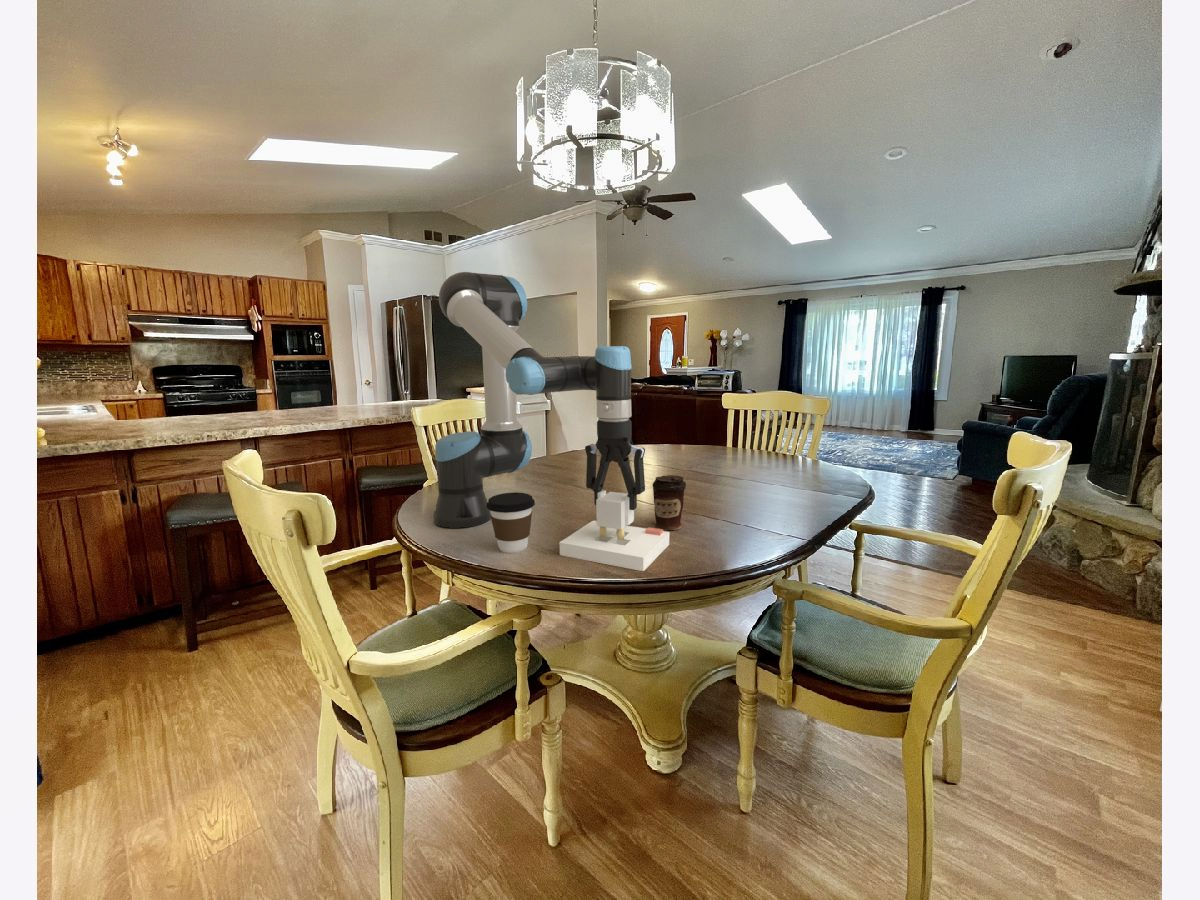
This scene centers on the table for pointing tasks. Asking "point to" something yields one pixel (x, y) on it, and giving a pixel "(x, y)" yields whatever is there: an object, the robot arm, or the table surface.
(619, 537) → the plug
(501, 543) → the coffee cup
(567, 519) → the table surface
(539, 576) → the table surface
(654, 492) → the coffee cup
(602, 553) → the socket plate
